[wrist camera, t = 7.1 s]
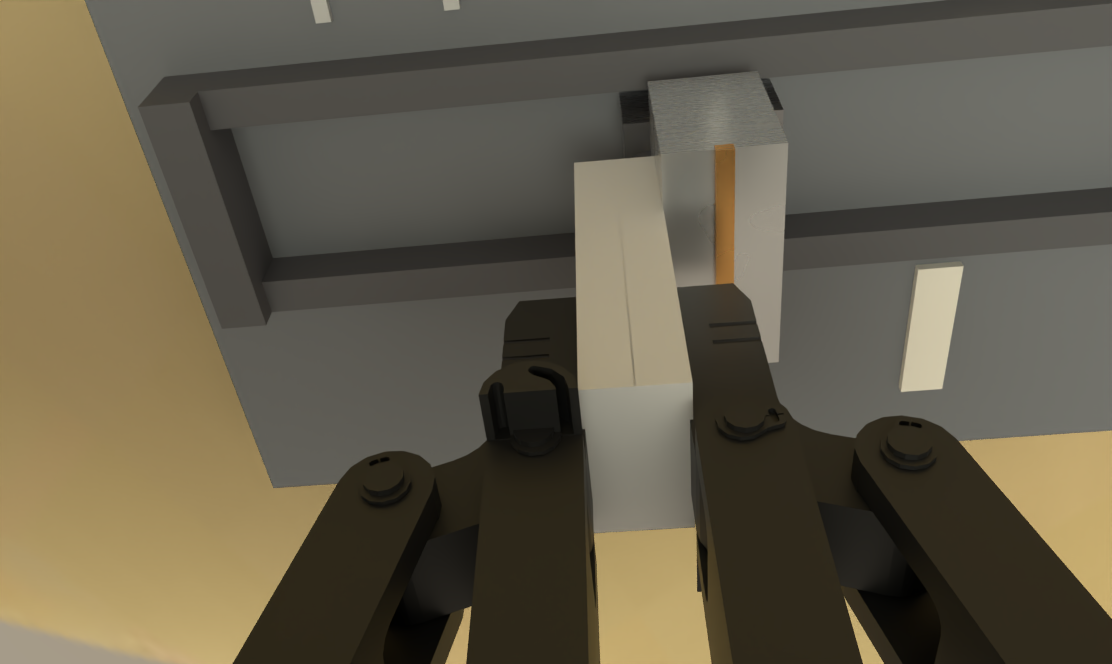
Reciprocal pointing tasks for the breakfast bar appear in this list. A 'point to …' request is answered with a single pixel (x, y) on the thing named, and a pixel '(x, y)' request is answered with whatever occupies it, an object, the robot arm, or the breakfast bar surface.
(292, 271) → the console
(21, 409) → the breakfast bar surface
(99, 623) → the breakfast bar surface
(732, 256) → the fader
